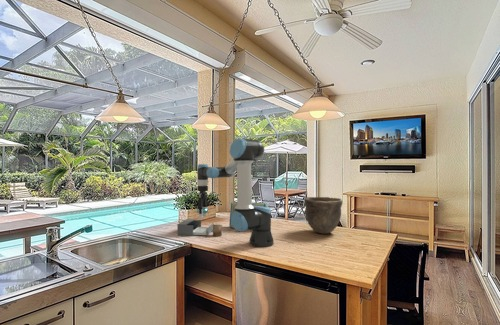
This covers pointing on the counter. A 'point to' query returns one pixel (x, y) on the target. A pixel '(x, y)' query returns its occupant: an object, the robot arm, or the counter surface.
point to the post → (217, 230)
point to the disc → (203, 210)
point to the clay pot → (323, 213)
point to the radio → (236, 205)
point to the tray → (203, 230)
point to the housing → (188, 227)
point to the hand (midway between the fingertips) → (202, 216)
